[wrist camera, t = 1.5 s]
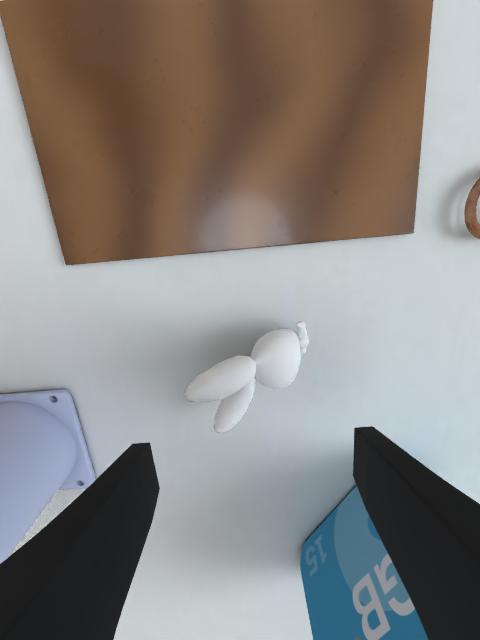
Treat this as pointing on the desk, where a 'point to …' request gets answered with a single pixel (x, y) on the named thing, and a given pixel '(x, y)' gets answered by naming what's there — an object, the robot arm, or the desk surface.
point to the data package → (355, 581)
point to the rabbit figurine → (250, 374)
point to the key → (472, 210)
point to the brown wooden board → (222, 120)
